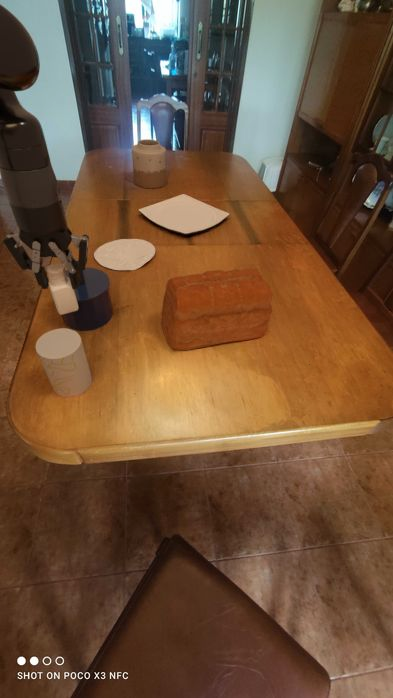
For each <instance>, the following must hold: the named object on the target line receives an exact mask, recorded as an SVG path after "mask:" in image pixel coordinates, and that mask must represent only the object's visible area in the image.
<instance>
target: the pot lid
mask: <svg viewBox="0 0 393 698" xmlns="http://www.w3.org/2000/svg"><path fill="white" fill-rule="evenodd" d="M65 270H66V273H67V277H69V274H68V273H69V271H68V269H65ZM79 275H80V279H81V281H80V285H79V287H77V289H74V292H75V295H76V299H77V302H84V301H89V300H92V299H95V298H97V297H99V296H101V295H102V294H104V293H105V292H106V291H107V290H108V288H109V289H110V285H111V281H110V277H109V275H108V274H107V273H106V272H105V271H103V270H101V269H98V268H94V267H87V266H85V270H84V271H81V270H79ZM69 279H70V278H69Z"/></svg>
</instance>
